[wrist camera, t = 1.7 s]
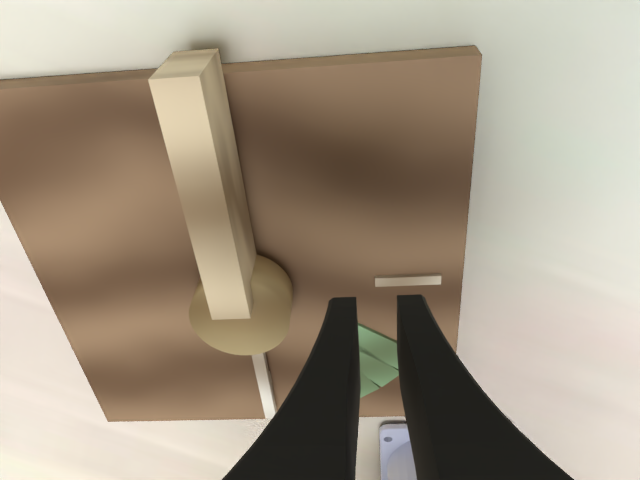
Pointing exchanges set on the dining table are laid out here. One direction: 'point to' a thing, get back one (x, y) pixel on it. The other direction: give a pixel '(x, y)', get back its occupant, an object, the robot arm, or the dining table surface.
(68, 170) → the dial board
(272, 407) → the dial lever
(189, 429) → the dining table surface
